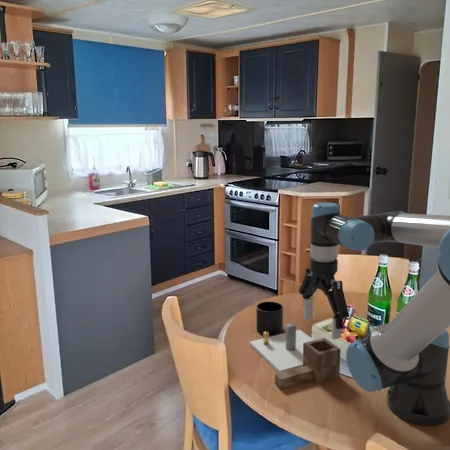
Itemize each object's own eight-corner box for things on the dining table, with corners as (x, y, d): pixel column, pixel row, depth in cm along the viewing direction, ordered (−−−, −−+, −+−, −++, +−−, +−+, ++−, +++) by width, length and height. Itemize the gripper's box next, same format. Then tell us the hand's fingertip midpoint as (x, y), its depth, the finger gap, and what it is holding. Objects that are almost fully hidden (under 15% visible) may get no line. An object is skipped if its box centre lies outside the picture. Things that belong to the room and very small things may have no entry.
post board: (334, 358, 140) (335, 331, 138) (280, 374, 132) (280, 346, 130) (299, 332, 158) (299, 308, 156) (249, 345, 150) (249, 319, 148)
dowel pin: (269, 343, 148) (269, 332, 147) (265, 345, 147) (265, 334, 146) (267, 341, 150) (267, 330, 149) (262, 342, 149) (262, 331, 148)
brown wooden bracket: (323, 364, 137) (324, 337, 135) (339, 376, 130) (340, 348, 128) (271, 379, 130) (271, 351, 128) (284, 393, 123) (285, 364, 121)
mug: (275, 320, 169) (275, 297, 166) (286, 334, 157) (286, 310, 155) (251, 322, 167) (251, 300, 165) (260, 337, 155) (260, 313, 153)
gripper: (365, 269, 114) (361, 344, 119) (309, 245, 137) (307, 309, 142) (341, 273, 112) (338, 350, 116) (288, 248, 134) (287, 314, 139)
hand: (321, 328), depth 129 cm, fingers open, 13 cm apart
